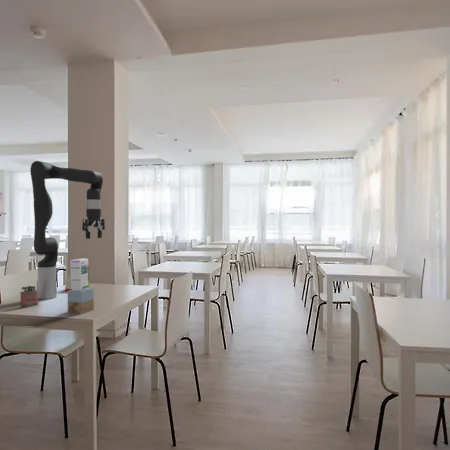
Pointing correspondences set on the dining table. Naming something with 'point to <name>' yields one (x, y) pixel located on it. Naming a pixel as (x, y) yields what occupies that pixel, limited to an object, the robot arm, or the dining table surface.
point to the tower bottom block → (81, 306)
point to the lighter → (29, 296)
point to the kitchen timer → (68, 284)
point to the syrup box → (79, 274)
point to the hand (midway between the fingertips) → (93, 238)
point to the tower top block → (80, 295)
